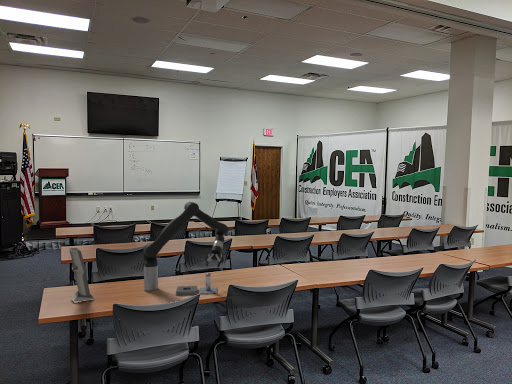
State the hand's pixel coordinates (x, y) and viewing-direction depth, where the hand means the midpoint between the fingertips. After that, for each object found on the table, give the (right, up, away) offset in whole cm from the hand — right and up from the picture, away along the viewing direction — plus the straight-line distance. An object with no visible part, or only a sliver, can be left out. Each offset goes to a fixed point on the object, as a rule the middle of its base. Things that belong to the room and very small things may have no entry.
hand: (212, 266), depth 276 cm
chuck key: (-2, -15, -7) cm, 17 cm away
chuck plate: (-17, -16, -9) cm, 25 cm away
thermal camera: (-84, -17, -24) cm, 89 cm away
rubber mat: (-2, -16, -7) cm, 18 cm away
